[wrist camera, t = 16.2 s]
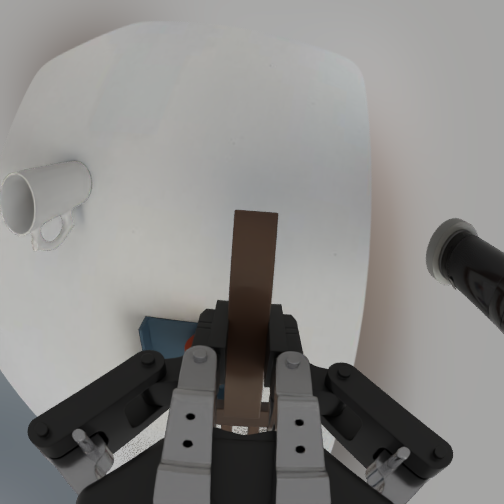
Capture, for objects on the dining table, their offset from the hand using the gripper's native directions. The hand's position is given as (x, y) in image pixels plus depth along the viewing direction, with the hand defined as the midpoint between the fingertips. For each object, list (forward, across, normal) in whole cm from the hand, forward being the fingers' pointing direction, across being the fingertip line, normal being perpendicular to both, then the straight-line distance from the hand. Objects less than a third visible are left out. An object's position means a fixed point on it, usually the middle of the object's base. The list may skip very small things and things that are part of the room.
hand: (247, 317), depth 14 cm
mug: (+21, +24, -2) cm, 32 cm away
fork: (-1, 0, +3) cm, 3 cm away
